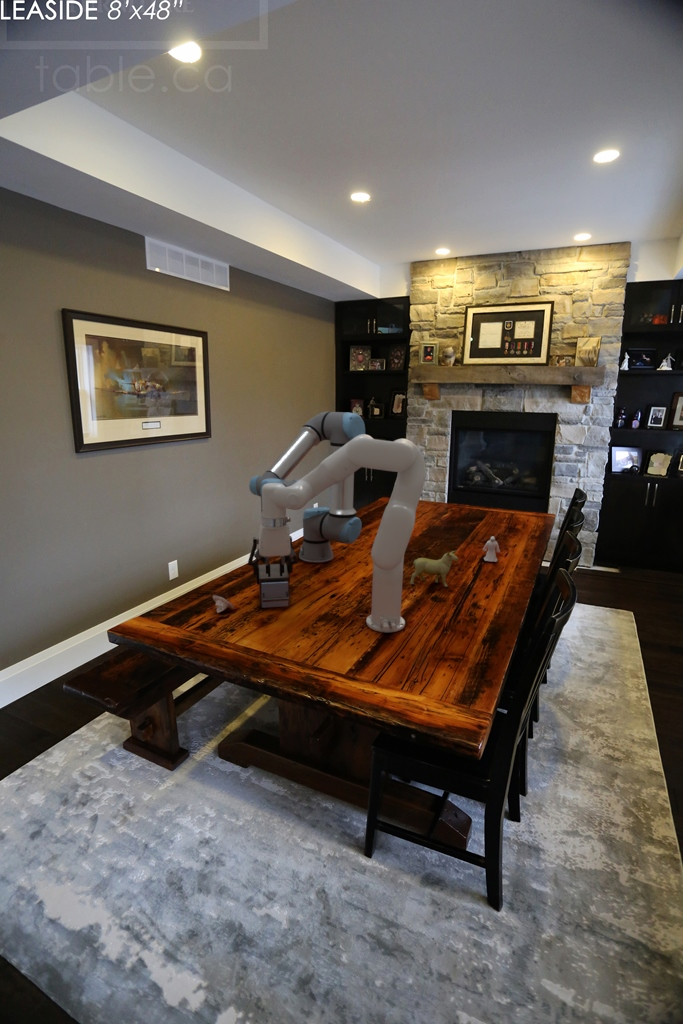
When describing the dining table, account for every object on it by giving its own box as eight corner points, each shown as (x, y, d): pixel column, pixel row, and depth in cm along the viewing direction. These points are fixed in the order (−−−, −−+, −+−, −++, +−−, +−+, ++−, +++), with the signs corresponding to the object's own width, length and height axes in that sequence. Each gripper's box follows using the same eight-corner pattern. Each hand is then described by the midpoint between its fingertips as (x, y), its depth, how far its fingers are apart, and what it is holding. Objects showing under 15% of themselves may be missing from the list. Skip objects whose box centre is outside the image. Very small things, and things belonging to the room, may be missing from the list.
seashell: (218, 620, 170) (203, 603, 170) (229, 610, 174) (214, 593, 173) (227, 616, 164) (211, 598, 164) (238, 606, 168) (222, 587, 167)
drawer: (289, 613, 167) (289, 589, 164) (262, 615, 165) (262, 591, 163) (285, 591, 184) (285, 569, 182) (260, 593, 182) (260, 570, 180)
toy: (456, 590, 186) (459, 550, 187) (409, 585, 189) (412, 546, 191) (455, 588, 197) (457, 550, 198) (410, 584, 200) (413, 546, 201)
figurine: (481, 562, 222) (483, 536, 219) (482, 556, 230) (484, 531, 227) (499, 564, 220) (501, 538, 217) (499, 558, 228) (501, 533, 225)
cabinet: (289, 605, 175) (289, 577, 172) (260, 607, 173) (259, 578, 170) (286, 590, 188) (286, 563, 185) (259, 591, 186) (258, 564, 183)
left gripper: (303, 519, 181) (303, 576, 187) (239, 521, 177) (241, 579, 182) (305, 524, 174) (305, 584, 179) (239, 527, 170) (241, 587, 175)
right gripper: (298, 517, 166) (298, 570, 170) (248, 519, 163) (249, 572, 167) (301, 523, 158) (301, 578, 163) (248, 525, 155) (249, 580, 160)
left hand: (273, 582), depth 181 cm, fingers closed on cabinet, 10 cm apart
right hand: (275, 574), depth 165 cm, fingers open, 3 cm apart
